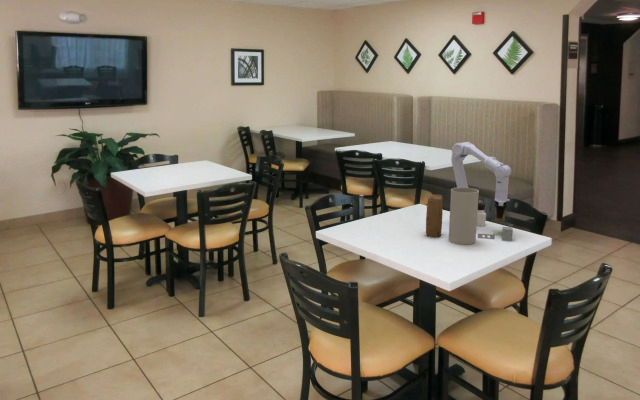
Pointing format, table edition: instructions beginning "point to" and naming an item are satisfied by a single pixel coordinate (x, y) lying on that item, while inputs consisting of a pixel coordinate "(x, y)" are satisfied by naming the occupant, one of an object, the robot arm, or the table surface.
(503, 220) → the walnut block
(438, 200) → the block
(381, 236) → the table surface
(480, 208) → the medicine bottle
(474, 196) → the cylinder vase
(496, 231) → the sage mat
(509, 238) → the slate block
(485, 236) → the tile
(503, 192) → the robot arm
